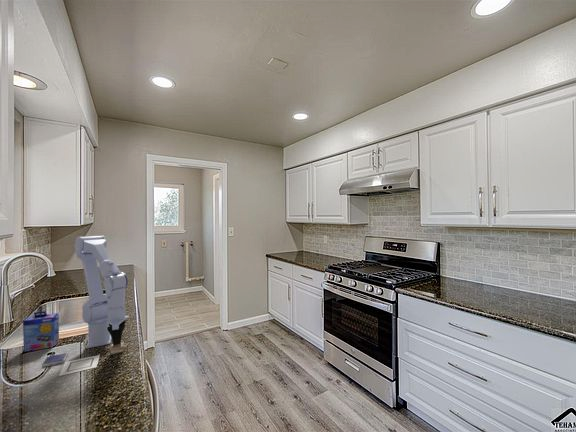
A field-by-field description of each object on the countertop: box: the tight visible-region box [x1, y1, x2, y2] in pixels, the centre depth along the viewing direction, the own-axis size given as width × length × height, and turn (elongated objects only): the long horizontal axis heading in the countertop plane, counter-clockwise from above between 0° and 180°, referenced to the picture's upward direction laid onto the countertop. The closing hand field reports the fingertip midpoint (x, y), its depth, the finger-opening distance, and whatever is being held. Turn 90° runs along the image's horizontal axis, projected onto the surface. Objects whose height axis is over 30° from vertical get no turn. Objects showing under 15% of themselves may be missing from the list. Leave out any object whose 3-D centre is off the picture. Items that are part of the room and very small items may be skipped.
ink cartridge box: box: [22, 310, 60, 353], centre depth 111 cm, size 10×6×14 cm, turn 113°
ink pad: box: [41, 352, 69, 368], centre depth 99 cm, size 6×6×1 cm
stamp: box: [110, 341, 125, 356], centre depth 105 cm, size 4×4×9 cm
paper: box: [58, 354, 101, 377], centre depth 96 cm, size 10×10×1 cm
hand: (117, 342), depth 105 cm, fingers closed on stamp, 3 cm apart
